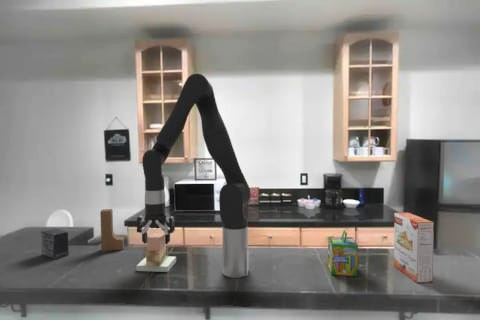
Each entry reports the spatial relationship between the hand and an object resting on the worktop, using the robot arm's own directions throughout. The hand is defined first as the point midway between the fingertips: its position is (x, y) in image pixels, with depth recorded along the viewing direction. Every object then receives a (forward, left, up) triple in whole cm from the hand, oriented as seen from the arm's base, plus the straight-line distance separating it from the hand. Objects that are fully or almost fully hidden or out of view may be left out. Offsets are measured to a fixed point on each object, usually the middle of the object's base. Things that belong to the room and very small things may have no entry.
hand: (156, 243), depth 115 cm
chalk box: (-70, -2, -9) cm, 71 cm away
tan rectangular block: (0, 0, -7) cm, 7 cm away
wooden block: (+27, -17, -9) cm, 33 cm away
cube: (0, 0, -2) cm, 2 cm away
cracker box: (-94, -1, -9) cm, 94 cm away
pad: (0, 0, -9) cm, 9 cm away
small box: (+48, -8, -9) cm, 50 cm away
